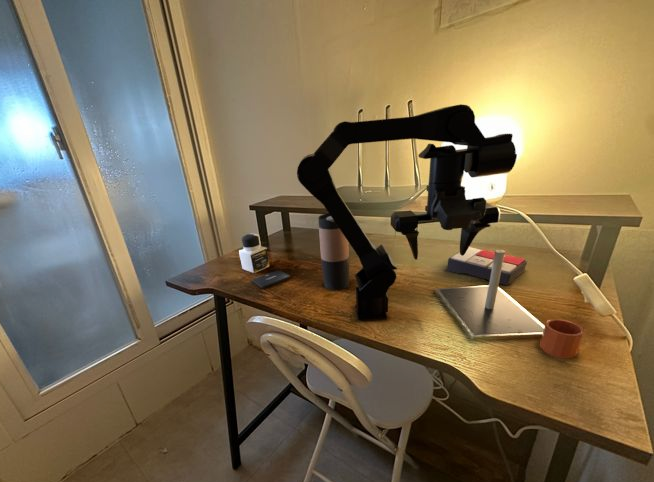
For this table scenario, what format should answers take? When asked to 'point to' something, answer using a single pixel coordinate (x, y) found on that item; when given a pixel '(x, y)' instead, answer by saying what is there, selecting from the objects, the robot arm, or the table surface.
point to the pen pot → (561, 338)
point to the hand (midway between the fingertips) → (438, 256)
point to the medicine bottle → (253, 254)
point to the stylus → (494, 279)
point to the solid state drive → (271, 279)
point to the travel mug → (333, 254)
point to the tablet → (489, 314)
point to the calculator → (486, 265)
